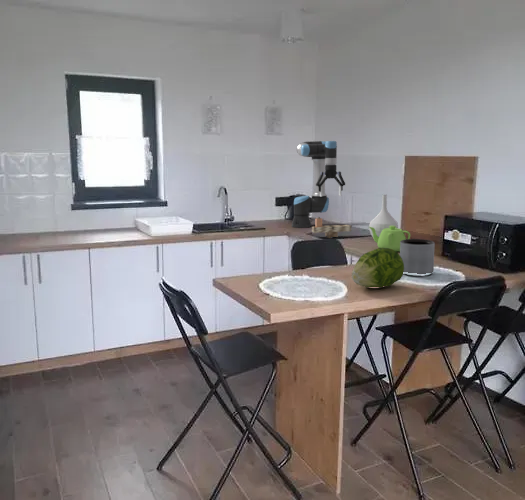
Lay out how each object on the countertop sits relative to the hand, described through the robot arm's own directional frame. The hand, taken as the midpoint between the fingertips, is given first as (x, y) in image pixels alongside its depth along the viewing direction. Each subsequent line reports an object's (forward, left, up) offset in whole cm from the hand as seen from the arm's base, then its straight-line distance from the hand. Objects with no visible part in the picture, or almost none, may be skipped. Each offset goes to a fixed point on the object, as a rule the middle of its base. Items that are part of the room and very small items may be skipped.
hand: (330, 196), depth 352 cm
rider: (+3, -9, -22) cm, 23 cm away
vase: (+25, +28, -28) cm, 47 cm away
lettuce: (+132, -22, -28) cm, 136 cm away
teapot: (+54, +19, -28) cm, 63 cm away
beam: (+3, 0, -28) cm, 28 cm away
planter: (+112, +7, -28) cm, 115 cm away
